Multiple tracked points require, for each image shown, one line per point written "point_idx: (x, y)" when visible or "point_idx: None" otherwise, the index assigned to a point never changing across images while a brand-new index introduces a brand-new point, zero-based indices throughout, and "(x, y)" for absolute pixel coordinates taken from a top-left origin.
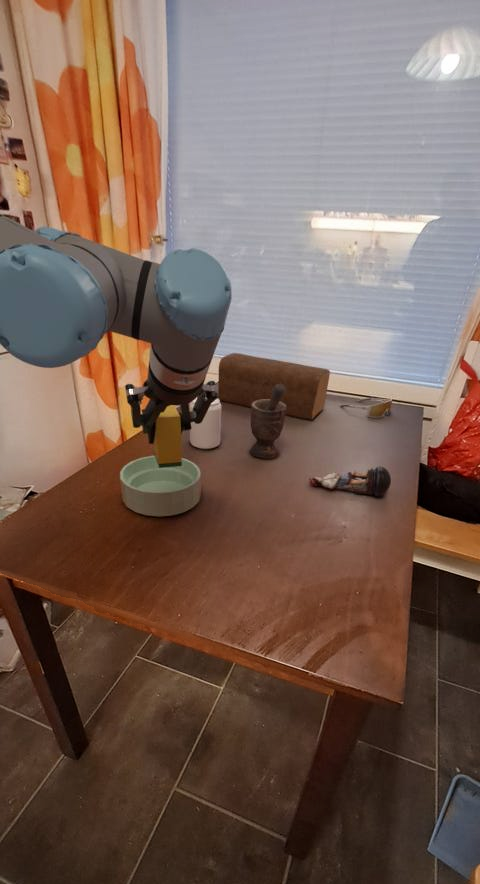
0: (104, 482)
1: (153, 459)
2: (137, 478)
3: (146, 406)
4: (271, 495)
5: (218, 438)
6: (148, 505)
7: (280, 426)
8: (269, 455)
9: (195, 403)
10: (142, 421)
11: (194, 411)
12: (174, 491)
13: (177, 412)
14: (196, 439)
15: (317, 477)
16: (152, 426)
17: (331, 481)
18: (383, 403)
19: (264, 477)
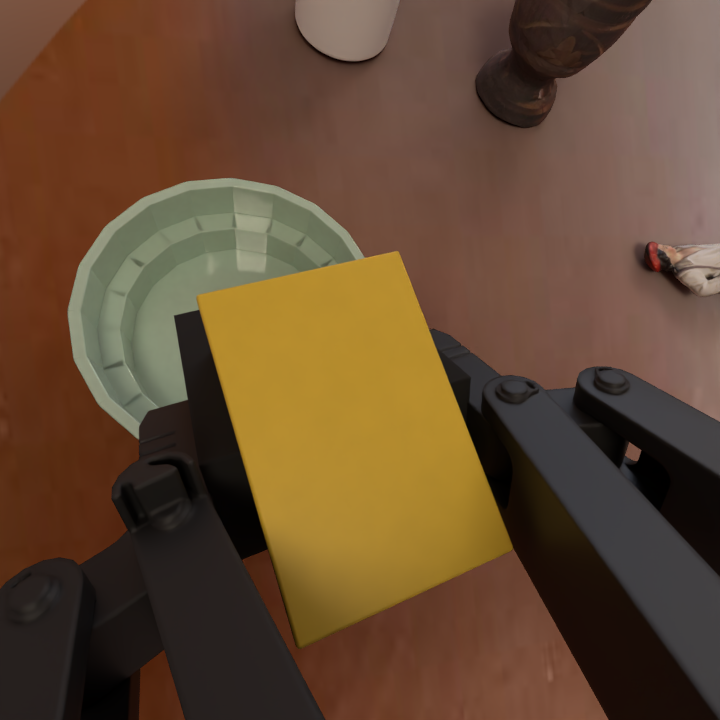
0: (20, 252)
1: (195, 196)
2: (144, 276)
3: (183, 712)
4: (549, 315)
5: (391, 25)
6: None
7: (618, 37)
8: (534, 118)
9: (710, 481)
10: (150, 649)
11: (605, 429)
12: None
13: (469, 452)
14: (323, 26)
15: (671, 251)
16: (242, 542)
17: (712, 282)
18: None
19: (524, 222)
